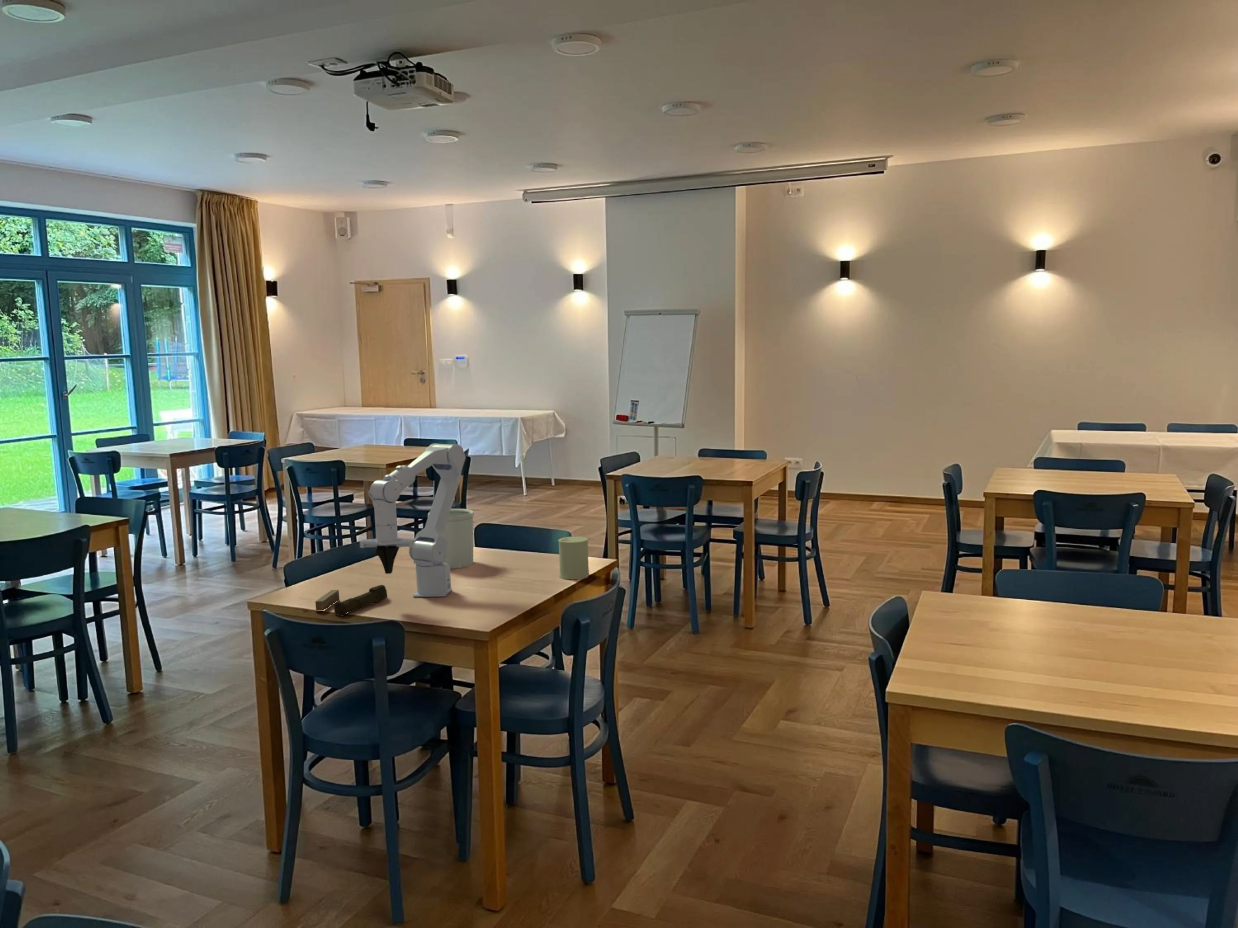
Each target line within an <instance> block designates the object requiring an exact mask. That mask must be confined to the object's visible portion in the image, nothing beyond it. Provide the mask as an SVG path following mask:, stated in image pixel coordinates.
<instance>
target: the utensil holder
mask: <svg viewBox="0 0 1238 928" xmlns="http://www.w3.org/2000/svg"><path fill="white" fill-rule="evenodd" d="M429 513H430V511H429V512H428V513H427V517H428V516H429ZM443 534H444V536H445V537H446V539H447V540H448V543H447V553H446V557H445V559H444V561H443V563H447V564H449V566H450V570H452V569H453V570H455V569H464V568H467V567H470V566H472V565H473V564H474V510H471V509H467V508H451V510H450V513H449V516H448V519H447V522H446V526H445V529H444V532H443Z"/></svg>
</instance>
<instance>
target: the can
mask: <svg viewBox="0 0 1238 928" xmlns="http://www.w3.org/2000/svg"><path fill="white" fill-rule="evenodd" d="M557 541H558V553H559V555H558V557H559V558H558V560H559V578H560V577H561V578H560V579H562V578H563V579H562V580H567V579H578V580H583V579H587V578H589V577H590V572H589V571H590V568H589V539H588V537H585V536H564V537H561V538H559V539H558V540H557ZM588 576H589V577H588Z"/></svg>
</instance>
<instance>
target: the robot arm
mask: <svg viewBox="0 0 1238 928" xmlns="http://www.w3.org/2000/svg"><path fill="white" fill-rule="evenodd" d="M465 461H466V454H465V451H464V449H463V447H462V446H461V444H458V443H454V444H450V443H449V444H448V443H447V444H446V443H444V444H443V443H437V442H436V443H435V442H434V443H431V444H430V445H429V446H427V447H426V448H424V452H423V453H421V454H420V455H419V456H418V457H417V458H415V459H414V460H413V461H412V462H410V463H409V464H408V465H404V464H403V465H397V466H396V467H395V470H393V471H391V473H388V474H386V475H384V476H383V478H382V479H377V480H375V481H373V483H372V484H371V485H370V487H369V491H367V492H368V496H369V498H370V500H371V502H372V506H373V508H374V510H373V511H374V523H375V524H374V525H375V538H371V539H361V540H359V548H361V549H364V548H376V549H375V553H376V555H377V556H378V558H379V559H380V561H381V564H382V566H383V569H384V573H385V574H386V575H390V574H392V573H393V569H394V564H395V560H396V556H397V554H398V552H399V549H400V548H402V547H403V548H407V547H409V548H408V554H409V557H410V559H411V560H413V564H415V576H416V577H415V578H416V591H415V593H413V594H412V597H414V598H417V597H418V598H419V597H420V598H423V597H428V598H429V597H431V598H432V597H434V598H437V597H447V595H448V594H449V593H450V592H451V591H452V589H453V588H452V581H451V580H452V579H451V569H450V566H449V564H447V563H443V561H444V559H445V557H446V553H447V543H448V540H447V539H446V537H445V536H444V534H443V532H444V529H445V526H446V522H447V519H448V516H449V513H450V510H451V509H452V507H453V505H454V504H453V503H454V501H455V500H454V499H455V497H456V494H457V492H458V491H457V490H458V489H459V484H460V482H461V479H462V471H463V467H464V464H465ZM431 466H432V468H433V470H435V472H436V473H437V474H438V475H439V477H440V479H439V483H438V486H437V490H436V493H435V495H434V498H433V502H432V505H431V508H430V511H429V512H430V513H429V512H428V513H429V516H428V515H427V519H426V522H425V525H424V528H422V529H421V530H419V531H418V532H416V534H415V538H401V537H399V536H398V519H397V501H398V499H399V498H400V495H401V493H402V492H403V491H404V490H406V488H408V487H409V486H411V485H413V483H414V482H415V480H416V476H418V475H419V474H421V473H422V472H424V471H425V470H427V469H428V468H430V467H431ZM398 537H399V538H398Z"/></svg>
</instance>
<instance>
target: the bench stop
mask: <svg viewBox="0 0 1238 928" xmlns="http://www.w3.org/2000/svg"><path fill="white" fill-rule="evenodd" d="M338 600H339V601H340V590H339V589H331V590H329V591H328V592H327V593H325V594H324V595H322V596H321V597H320V598H318V599H316V601H315V602H314V603H315V611H316V610H324V609H326V608H328V607H329V606H330V605H332V604H333V603H335V602H336V601H338ZM339 601H338V602H339ZM336 603H337V602H336ZM332 606H333V605H332ZM328 609H329V608H328Z"/></svg>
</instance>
